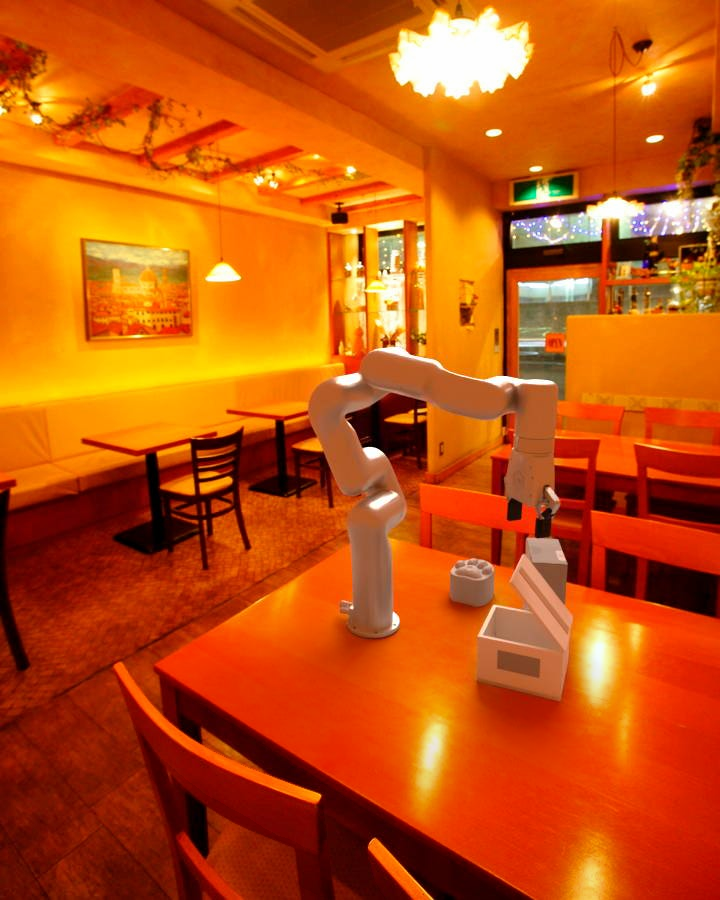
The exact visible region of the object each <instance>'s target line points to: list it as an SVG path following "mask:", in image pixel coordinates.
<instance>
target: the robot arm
mask: <svg viewBox="0 0 720 900" xmlns="http://www.w3.org/2000/svg"><path fill="white" fill-rule="evenodd" d="M390 393H393V394H395V395H396V394H397V395H400V396H405V397H408V398H411V399H412V398H413V399H416V400H420V401H424V402H427V404H429V405H431V406H433V407H436V408H438V409H440V410H442V411H444V412H448V413H451V414H454V415H458V416H462V417H466V418H470V419H474V420H479V421H494V420H497V419H500V417H502V416H504V415H508V414H512V413H513V414H515V415H514V429H513V431H514V432H513V444H512V446H513V447H512V448H511V451H510V455H509V459H508V465H507V470H506V471H507V472H506V476H504V477H503V480H504V481H503V482H504V486H505V489H504V490H505V493H506V497H505V499H506V501H507V508H506V520H507V521H508V522H514V521H521V520H522V517H523V515H522V514H523V505H525V506H527V507H529V508H535V511H536V514H537V517H536V518H535V526H534V538H537V539H538V538H544V539H547V538H550V537H551V532H552V520H553V519H554V518H555V515H557V514H558V511H559V508H560V506H561V503H562V501H561V500H560V499H559V497H558V496H557V494H556V493H555V479H556V478H555V477H556V476H555V475H556V474H555V473H556V472H555V456H554V453H555V440H556V428H557V427H556V425H557V415H558V403H559V386H558V384H557V383H556V382H555V381H553V380H546V379H520V378H516V377H511V376H504V375H502V376H494V377H491V378H488V379H479V378H474V377H470V376H466V375H461V374H457V373H454V372H451V371H449V370H447V369H445V368H444V367H443V366H442V365H441V363H440V362H438V361H437V360H435V359H430V358H426V357H420V356H415V355H411V354H409V352H407V351H406V350H405V349H403V348H400V347H396V346H393V347H384V348H375V349H374V350H371V351H368V352H367V353H366V354H365V355H364V357H363V358H362V359H361V361H360V365H359V370H358V371H356V372H355V373H351V374H346V375H340V376H334V377H331V378H328V379H325V380H324V381H322V382H320V384H317V386H316V387H315V388H314V390H313V391H312V392H311V395H310V397H309V401H308V403H307V406H308V407H307V413H308V414H307V415H308V419H309V422H310V425H311V427H312V429H313V431H314V433H315V435H316V437H317V439H318V441H319V444H320V446H321V448H322V451H323V454H324V455H325V456H324V457H325V459H326V461H327V464H328V467H329V468H330V471H331V473H332V475H333V479H334V480H335V483H336V485H337V487H338V489H339V490H340V492H341V493H342V494H344V495H346V496H349V497H354V496H360V494H363V493H364V494H365V495H366V497H364V498H362V499H361V500H358V502H356V503H355V504H354V505H352V507H351V509H349V511H348V514H347V517H346V530H347V534H348V539H349V544H350V554H351V574H352V575H351V576H352V577H351V581H352V602H350V601H346V600H340V602H339V613H340V614H344V615H345V614H346V615H348V618H347V623H346V625H347V626H346V627H347V629H348V630H349V631H350V632H351V633H352V634H354V635H356V636H358V637H362V638H365V639H378V638H384V637H388V636H390V635H393V634H394V633H395V632H397V631H398V630H399V629H400V626H401V625H400V624H401V623H400V622H401V621H400V617H399V616H398V615H397V613H395V612H394V581H393V580H394V579H393V578H394V577H393V574H394V573H393V572H394V571H393V552H392V547H391V544H390V541H389V532H391V530H392V529H394V528H395V527H397V526H398V525H400V523H402V521H404V519H405V517H406V514H407V509H408V508H407V503H406V498H405V495H404V492H403V491H402V487H401V485H400V484H399V480H398V479H397V475H396V473H395V471H394V469H393V466H392V464H391V462H390V460H389V458H388V457H387V456H386V454H385V453H384V452H383V451H381V450H380V449H378V448H376V447H372V446H370V447H369V446H368V447H362V444H361V442H360V440H359V437H358V435H357V432H356V430H355V429H354V427H353V426H352V424H351V423H349V421H348V420H347V419H346V415H347V414H349V413H353V412H356V411H357V412H358V411H360V410H363V409H366V408H368V407H369V406H372V405H373V404H375V403H376V402H378V401H380V400H382V399H383V398H384V397H385V396H387V395H389V394H390ZM544 507H545V509H544V511H543V508H544Z"/></svg>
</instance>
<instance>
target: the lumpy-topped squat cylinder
mask: <svg viewBox="0 0 720 900" xmlns="http://www.w3.org/2000/svg"><path fill="white" fill-rule="evenodd" d="M495 574H496V573H495V568H494V566H493V565H492V564H491V563H490V562H488V561H486V560H484V559H478V558H475V557H474V558H470V559H466V560H460V559H459V560H457V561H456V562H455V565H454V566H453V567H452V568H451V569H450V571H449V598H450V600H451V601H453V602H456V603H460V604H465V605H468V606H472V607H483V606H485V605H487V604H488V603H490V601H492V599H493V598H494V596H495Z"/></svg>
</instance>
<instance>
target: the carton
mask: <svg viewBox="0 0 720 900" xmlns="http://www.w3.org/2000/svg"><path fill="white" fill-rule="evenodd" d="M570 637H571V634H570V635H569V640H568V644H567V649H566V652H565V653H563V652H562V651H561V650H560V649H559V647H558V646H557V645H556V643H555V642H554V641H553V639H552V638H551V637H550V636H549V634H548V633H547V632H546V630H545V629H544V628H543V626H542V625H541V624H540V623H539V621H538V620H537V619H536V617H535V616H534V615H533V613H532V612H531V611H526V610H523V609H519V608H514V607H509V606H504V605H503V606H502V605H498V604H493V605H492V606H491V609H490V610H489V613H488V615H487V616H486V619H485V620H484V622H483V625H482V626H481V629H480V631H479V633H478V634H477V648H476V650H477V651H476V652H477V653H476V682H479V683H483V684H485V685H486V684H487V685H489V686H495V687H498V688H503V689H506V690H511V691H515V692H519V693H523V694H527V695H531V696H535V697H539V698H544V699H548V700H553V701H556V702H561V700H562V695H563V690H564V685H565V680H566V675H567V671H568V664H569V655H570V640H571V639H570Z"/></svg>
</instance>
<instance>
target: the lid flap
mask: <svg viewBox="0 0 720 900" xmlns="http://www.w3.org/2000/svg"><path fill="white" fill-rule="evenodd" d="M509 585H510V586H511V588H512V590H514V591H515V593H516V594H517V595H518V596H519V598H520V600H521V601H522V603H523V602H524V603H525V604H526V606H527V607H528V608H529V610H530V611H531V612H532V613H533V615H534V616H535V617H536V619H537V620H538V621H539V623H540V624H541V625H542V626H543V628H544V629H545V630H546V632H547V633H548V634H549V636H550V637H551V638H552V639H553V641H554V642H555V643H556V645H557V646H558V647H559V649H560V650H561V651H562V652H563V653H565V652H566V649H567V644H568V640H569V635H570V636H571V629H572V625H573V622H574V621H573V619H574V616H573V614H572V613H571V612H570V611H569V610H568V608H567V607H566V604H565V605H564V604H563V603H562V601H561V600H560V599H559V598H558V596H557V595H556V594H555V592H554V591H553V590H552V589H551V587H550V586H549V585H548V583H547V582H546V581H545V580H544V578H543V577H542V576H541V574H540V573H539V572H538V571H537V569H536V568H535V567H534V565H533V564H532V563H531V562H530V560H529V559H528V558H527V556H526V553H523V554H522V555H521V557H520V559H519V561H518V563H517V565H516V568H515V570H514V571H513V573H512V576H511V577H510V580H509ZM569 641H570V640H569Z"/></svg>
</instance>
